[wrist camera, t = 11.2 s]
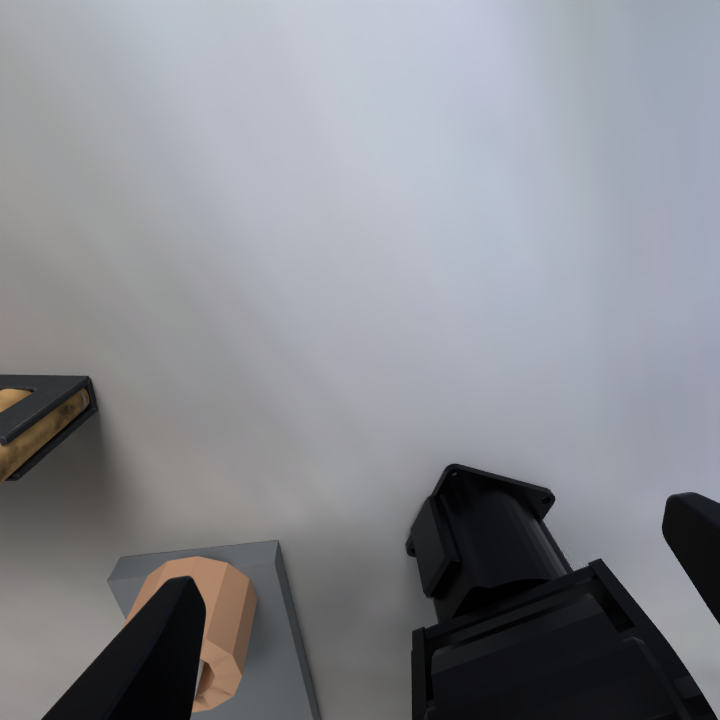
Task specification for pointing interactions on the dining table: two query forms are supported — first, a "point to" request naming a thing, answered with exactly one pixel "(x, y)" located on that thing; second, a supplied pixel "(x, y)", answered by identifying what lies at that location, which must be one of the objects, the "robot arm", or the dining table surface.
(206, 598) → the ring
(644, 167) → the dining table surface
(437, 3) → the dining table surface
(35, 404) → the ammunition clip
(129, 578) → the board
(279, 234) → the dining table surface
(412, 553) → the robot arm
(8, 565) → the dining table surface
